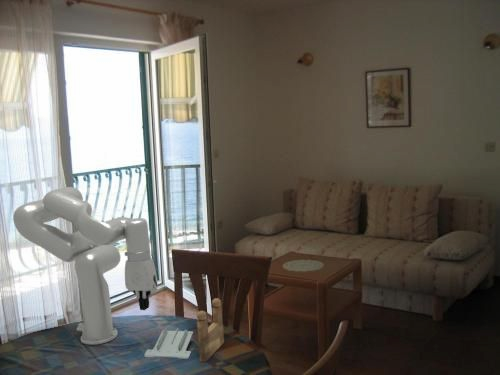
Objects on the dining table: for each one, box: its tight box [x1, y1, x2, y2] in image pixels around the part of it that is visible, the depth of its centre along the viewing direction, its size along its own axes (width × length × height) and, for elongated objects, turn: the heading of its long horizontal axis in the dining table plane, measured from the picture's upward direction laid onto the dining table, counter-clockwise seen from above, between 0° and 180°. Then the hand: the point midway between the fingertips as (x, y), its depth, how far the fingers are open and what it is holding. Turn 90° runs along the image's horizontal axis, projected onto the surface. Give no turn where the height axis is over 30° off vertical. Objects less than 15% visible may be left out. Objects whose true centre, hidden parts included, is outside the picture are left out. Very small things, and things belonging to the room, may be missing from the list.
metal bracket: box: [144, 327, 194, 360], centre depth 166 cm, size 14×6×15 cm
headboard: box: [196, 297, 225, 363], centre depth 162 cm, size 3×14×16 cm, turn 159°
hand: (144, 308), depth 170 cm, fingers closed
